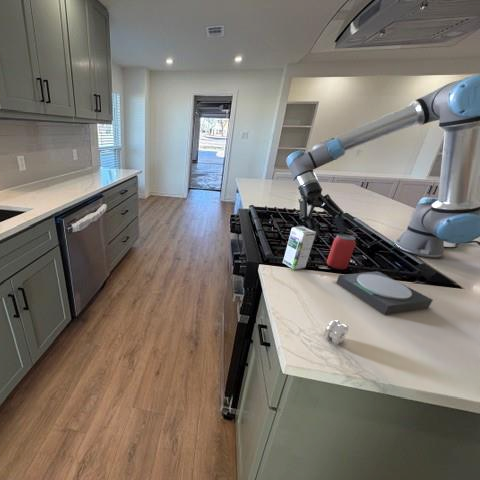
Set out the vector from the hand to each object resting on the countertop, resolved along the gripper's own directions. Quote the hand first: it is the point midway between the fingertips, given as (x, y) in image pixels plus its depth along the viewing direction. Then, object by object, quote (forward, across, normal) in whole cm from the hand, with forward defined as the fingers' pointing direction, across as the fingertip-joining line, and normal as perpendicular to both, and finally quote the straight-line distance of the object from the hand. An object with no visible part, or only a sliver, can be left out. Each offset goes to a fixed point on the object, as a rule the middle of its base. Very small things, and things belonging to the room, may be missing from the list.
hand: (330, 234), depth 96 cm
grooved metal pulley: (+31, +35, +15) cm, 49 cm away
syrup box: (+8, +15, -7) cm, 19 cm away
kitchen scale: (+24, +4, +9) cm, 26 cm away
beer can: (+12, 0, -4) cm, 12 cm away
